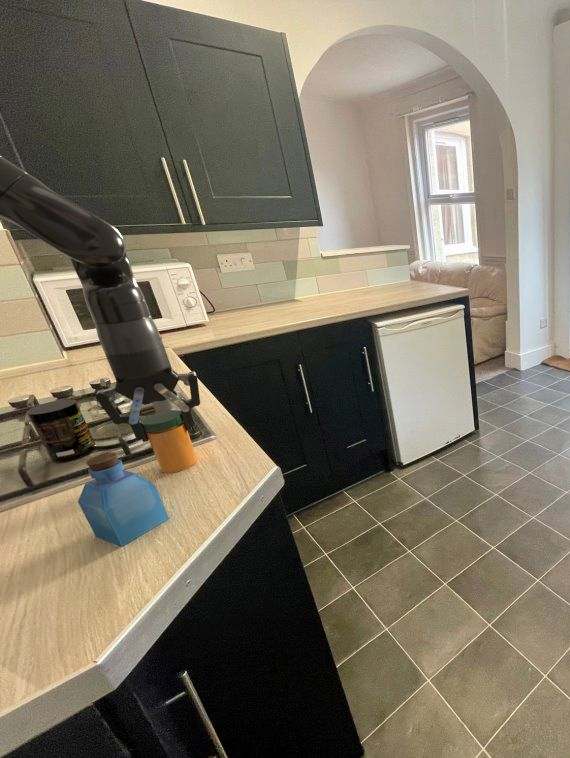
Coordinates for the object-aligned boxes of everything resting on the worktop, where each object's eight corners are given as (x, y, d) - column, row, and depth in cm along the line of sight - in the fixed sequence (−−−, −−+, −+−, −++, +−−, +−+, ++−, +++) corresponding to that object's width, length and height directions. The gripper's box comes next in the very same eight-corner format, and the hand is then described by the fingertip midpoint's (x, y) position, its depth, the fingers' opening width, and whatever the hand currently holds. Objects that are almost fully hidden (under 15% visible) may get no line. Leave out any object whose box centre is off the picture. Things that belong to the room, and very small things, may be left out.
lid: (172, 430, 73) (169, 422, 72) (135, 433, 72) (132, 425, 72) (190, 416, 78) (188, 408, 78) (157, 418, 78) (154, 411, 77)
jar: (154, 474, 75) (135, 429, 72) (171, 458, 81) (155, 415, 77) (188, 470, 76) (171, 426, 73) (203, 454, 81) (188, 412, 78)
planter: (169, 438, 88) (152, 393, 84) (160, 433, 90) (143, 389, 86) (193, 430, 91) (178, 386, 88) (185, 425, 94) (169, 382, 90)
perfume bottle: (122, 546, 59) (87, 474, 54) (95, 536, 61) (60, 466, 56) (169, 518, 64) (140, 450, 60) (143, 510, 66) (113, 444, 62)
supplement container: (100, 442, 87) (79, 396, 84) (95, 455, 82) (73, 407, 78) (55, 452, 84) (31, 405, 80) (47, 467, 79) (21, 417, 75)
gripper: (70, 360, 63) (114, 456, 69) (187, 341, 71) (217, 429, 77) (78, 349, 68) (118, 439, 75) (185, 333, 76) (213, 415, 83)
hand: (168, 434), depth 76 cm, fingers closed on lid, 5 cm apart
